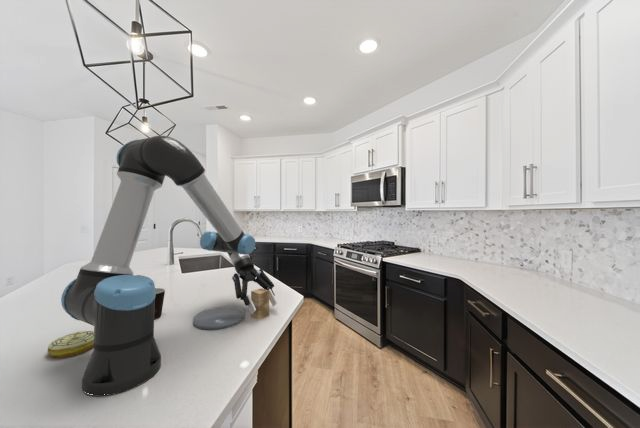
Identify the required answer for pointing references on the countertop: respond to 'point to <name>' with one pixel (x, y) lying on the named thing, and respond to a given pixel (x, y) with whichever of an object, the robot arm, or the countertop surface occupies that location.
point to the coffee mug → (158, 302)
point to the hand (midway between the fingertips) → (264, 308)
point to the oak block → (260, 303)
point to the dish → (218, 318)
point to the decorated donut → (71, 344)
